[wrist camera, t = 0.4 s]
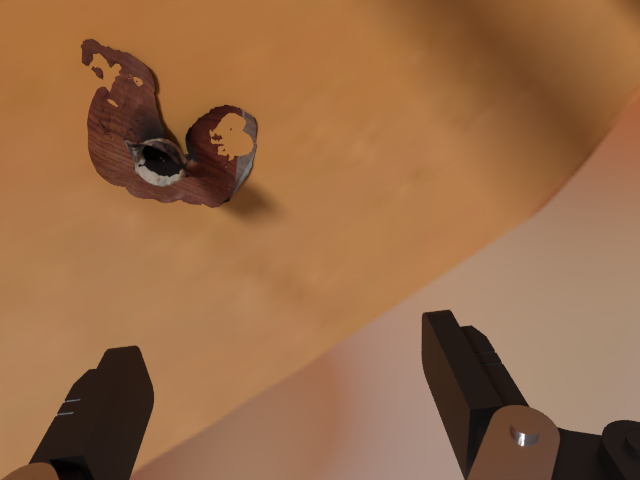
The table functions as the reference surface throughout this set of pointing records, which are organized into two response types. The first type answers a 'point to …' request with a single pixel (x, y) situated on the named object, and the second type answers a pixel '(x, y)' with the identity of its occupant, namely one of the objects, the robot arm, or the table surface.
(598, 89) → the table surface
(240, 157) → the dark brown curved piece
